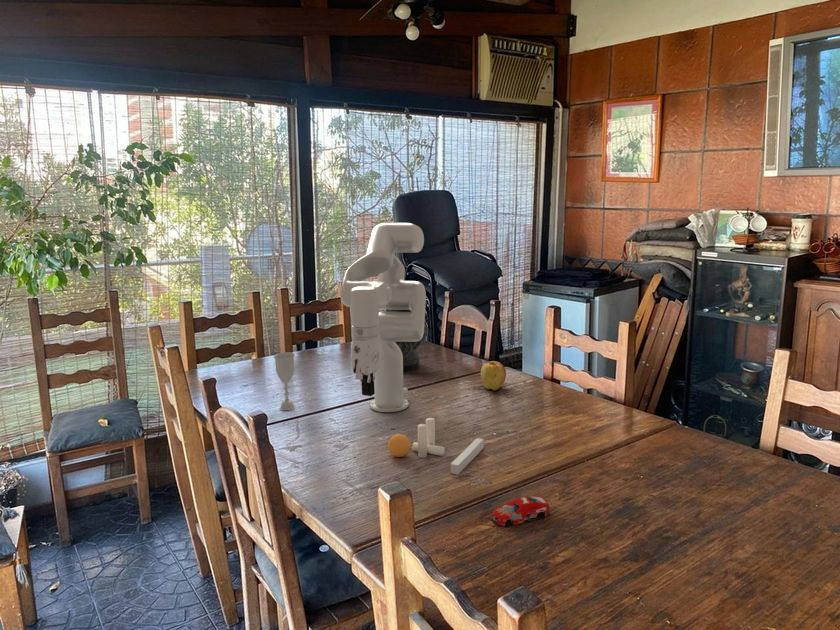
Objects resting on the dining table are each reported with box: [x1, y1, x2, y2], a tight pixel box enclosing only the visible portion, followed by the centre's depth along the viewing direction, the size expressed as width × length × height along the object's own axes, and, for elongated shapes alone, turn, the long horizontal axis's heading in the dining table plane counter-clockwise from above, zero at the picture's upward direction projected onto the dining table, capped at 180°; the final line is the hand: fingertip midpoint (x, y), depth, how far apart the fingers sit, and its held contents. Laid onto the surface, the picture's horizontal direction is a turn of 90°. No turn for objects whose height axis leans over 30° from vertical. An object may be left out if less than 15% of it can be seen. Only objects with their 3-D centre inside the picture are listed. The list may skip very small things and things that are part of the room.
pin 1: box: [417, 423, 428, 459], centre depth 166 cm, size 2×2×8 cm
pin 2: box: [425, 417, 436, 446], centre depth 170 cm, size 2×2×8 cm
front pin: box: [411, 441, 446, 457], centre depth 168 cm, size 2×2×8 cm
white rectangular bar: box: [450, 437, 485, 475], centre depth 163 cm, size 18×2×2 cm, turn 154°
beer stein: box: [388, 310, 429, 372], centre depth 249 cm, size 16×19×25 cm
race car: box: [491, 496, 551, 528], centre depth 135 cm, size 13×5×4 cm, turn 111°
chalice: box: [273, 351, 296, 411], centre depth 203 cm, size 7×7×18 cm
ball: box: [387, 433, 411, 458], centre depth 166 cm, size 6×6×6 cm
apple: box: [480, 360, 507, 391], centre depth 221 cm, size 9×9×10 cm
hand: (368, 394), depth 174 cm, fingers closed
